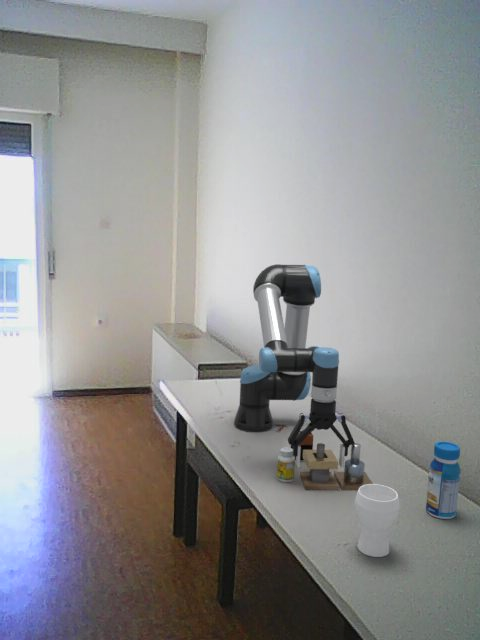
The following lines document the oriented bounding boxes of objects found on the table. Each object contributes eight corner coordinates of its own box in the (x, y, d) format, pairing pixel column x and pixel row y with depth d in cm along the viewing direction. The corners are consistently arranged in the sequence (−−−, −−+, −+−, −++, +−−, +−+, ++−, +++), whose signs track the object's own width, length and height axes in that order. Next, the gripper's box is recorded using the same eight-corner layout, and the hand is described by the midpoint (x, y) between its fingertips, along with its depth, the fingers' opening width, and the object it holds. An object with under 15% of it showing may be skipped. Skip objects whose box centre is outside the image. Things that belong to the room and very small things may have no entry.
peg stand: (333, 476, 189) (336, 438, 187) (364, 476, 190) (367, 438, 188) (341, 490, 179) (344, 451, 177) (373, 490, 180) (377, 451, 178)
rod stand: (299, 475, 188) (301, 438, 186) (330, 475, 189) (333, 438, 187) (305, 490, 178) (307, 450, 176) (338, 490, 179) (341, 451, 177)
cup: (346, 537, 152) (350, 482, 150) (387, 537, 153) (391, 482, 151) (358, 561, 142) (363, 502, 139) (401, 560, 143) (406, 502, 140)
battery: (312, 460, 200) (314, 432, 198) (292, 461, 199) (294, 432, 198) (309, 455, 204) (310, 428, 203) (289, 455, 204) (291, 428, 202)
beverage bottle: (452, 523, 162) (460, 454, 158) (421, 514, 166) (428, 446, 163) (459, 511, 169) (466, 444, 165) (429, 502, 173) (435, 437, 170)
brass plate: (302, 457, 186) (303, 449, 186) (330, 457, 187) (331, 449, 187) (308, 469, 177) (308, 461, 177) (337, 469, 178) (338, 461, 178)
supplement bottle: (297, 481, 184) (298, 451, 183) (281, 483, 182) (283, 453, 180) (288, 474, 189) (290, 445, 187) (273, 476, 187) (275, 447, 185)
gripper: (284, 402, 174) (281, 470, 177) (367, 403, 176) (362, 470, 179) (280, 395, 181) (277, 460, 185) (360, 396, 184) (355, 461, 187)
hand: (319, 466), depth 182 cm, fingers open, 13 cm apart
